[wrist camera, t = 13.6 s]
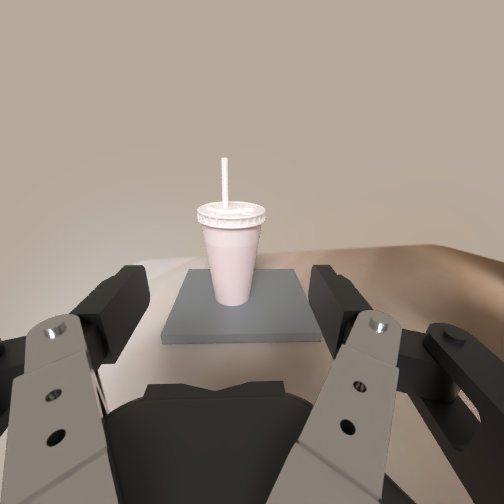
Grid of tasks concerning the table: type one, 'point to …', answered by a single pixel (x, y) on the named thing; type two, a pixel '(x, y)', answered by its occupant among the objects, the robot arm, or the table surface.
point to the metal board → (242, 312)
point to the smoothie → (231, 243)
